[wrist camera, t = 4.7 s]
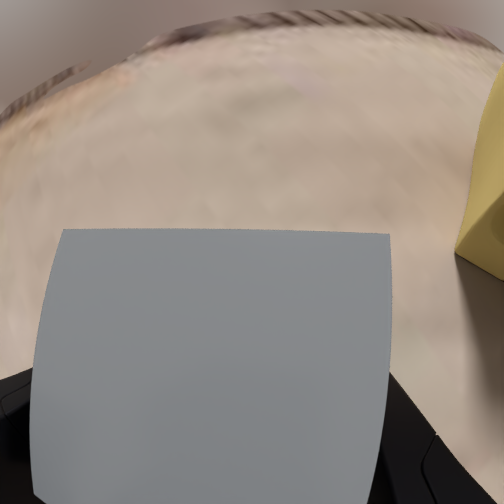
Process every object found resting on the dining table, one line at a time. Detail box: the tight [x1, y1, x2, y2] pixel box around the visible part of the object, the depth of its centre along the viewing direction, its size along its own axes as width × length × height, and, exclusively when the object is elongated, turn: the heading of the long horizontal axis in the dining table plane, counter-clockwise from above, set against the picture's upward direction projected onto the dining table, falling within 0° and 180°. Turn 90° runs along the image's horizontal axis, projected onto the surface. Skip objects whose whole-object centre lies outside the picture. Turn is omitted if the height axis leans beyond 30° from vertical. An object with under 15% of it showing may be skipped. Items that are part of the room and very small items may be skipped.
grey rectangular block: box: [30, 229, 392, 504], centre depth 8 cm, size 6×6×11 cm
